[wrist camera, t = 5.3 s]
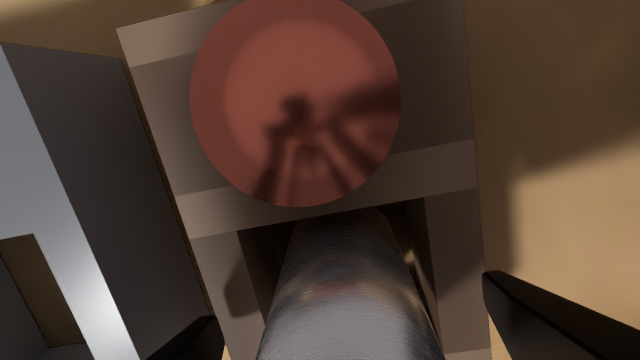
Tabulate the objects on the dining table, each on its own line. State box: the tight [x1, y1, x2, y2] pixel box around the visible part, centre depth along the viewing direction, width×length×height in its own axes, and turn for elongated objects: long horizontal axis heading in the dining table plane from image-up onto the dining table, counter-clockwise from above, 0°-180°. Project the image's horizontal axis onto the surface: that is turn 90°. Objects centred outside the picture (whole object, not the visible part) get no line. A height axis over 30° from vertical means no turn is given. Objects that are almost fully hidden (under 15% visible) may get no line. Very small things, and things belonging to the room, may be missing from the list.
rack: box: [0, 42, 210, 360], centre depth 11 cm, size 9×12×4 cm
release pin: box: [189, 0, 401, 207], centre depth 8 cm, size 4×4×4 cm
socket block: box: [116, 0, 492, 360], centre depth 10 cm, size 8×12×3 cm, turn 12°
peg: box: [256, 206, 446, 360], centre depth 8 cm, size 4×4×8 cm
